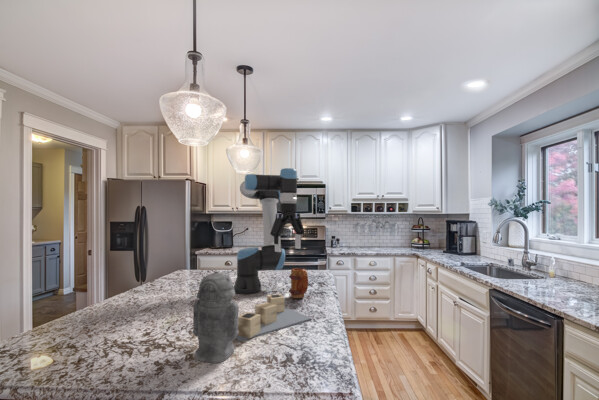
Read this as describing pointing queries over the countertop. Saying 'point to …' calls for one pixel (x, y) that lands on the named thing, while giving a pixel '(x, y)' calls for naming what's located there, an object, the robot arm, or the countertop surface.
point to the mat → (279, 323)
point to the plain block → (266, 312)
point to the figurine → (215, 318)
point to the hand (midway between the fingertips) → (288, 250)
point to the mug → (298, 283)
